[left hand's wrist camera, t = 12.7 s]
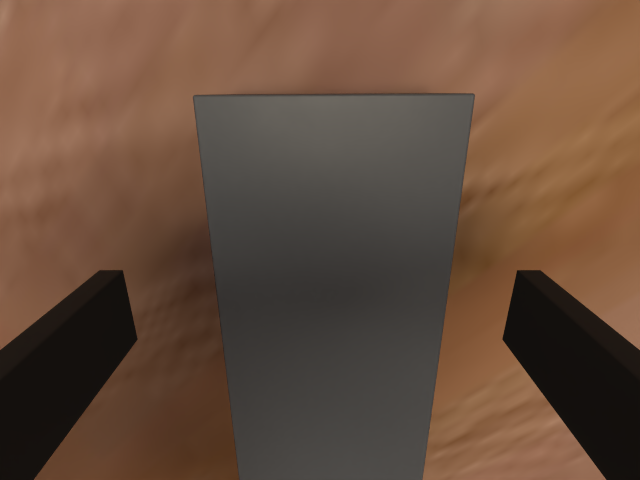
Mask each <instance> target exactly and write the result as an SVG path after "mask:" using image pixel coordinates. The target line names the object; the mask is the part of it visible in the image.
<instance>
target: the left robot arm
mask: <svg viewBox="0 0 640 480" xmlns="http://www.w3.org/2000/svg"><path fill="white" fill-rule="evenodd" d="M136 341H137V335H136V330H135V325H134V321H133V316H132V311H131V307H130V302H129V297H128V293H127V288H126V283H125V279H124V274H123V270H100V271H98V272H97V273H96V274H95V275H93V276H92V277H91V278H90V279H88V280H87V281H86V282H85V283H83V284H82V285H81V286H80V287H78V288H77V289H76V290H75V291H73V292H72V293H71V294H70V295H68V296H67V297H66V298H65V299H63V300H62V301H61V302H60V303H58V304H57V305H56V306H55V307H54V308H52V309H51V310H50V311H49V312H47V313H46V314H45V315H44V316H42V317H41V318H40V319H39V320H37V321H36V322H35V323H34V324H32V325H31V326H30V327H29V328H27V329H26V330H25V331H24V332H22V333H21V334H20V335H19V336H17V337H16V338H15V339H14V340H12V341H11V342H10V343H9V344H7V345H6V346H5V347H4V348H2V349H1V350H0V480H34V478H35V477H36V476H37V474H38V473H39V472H40V470H41V469H42V468H43V466H44V465H45V464H46V462H47V461H48V460H49V458H50V457H51V455H52V454H53V453H54V451H55V450H56V449H57V447H58V446H59V445H60V443H61V442H62V441H63V439H64V438H65V437H66V435H67V434H68V433H69V431H70V430H71V428H72V427H73V426H74V424H75V423H76V422H77V420H78V419H79V418H80V416H81V415H82V414H83V412H84V411H85V410H86V408H87V407H88V406H89V404H90V403H91V402H92V400H93V399H94V397H95V396H96V395H97V393H98V392H99V391H100V389H101V388H102V387H103V385H104V384H105V383H106V381H107V380H108V379H109V377H110V376H111V375H112V373H113V372H114V370H115V369H116V368H117V366H118V365H119V364H120V362H121V361H122V360H123V358H124V357H125V356H126V354H127V353H128V352H129V350H130V349H131V348H132V346H133V345H134V344H135V342H136ZM503 341H504V342H505V344H506V345H507V346H508V348H509V349H510V350H511V352H512V353H513V354H514V356H515V357H516V358H517V360H518V361H519V362H520V364H521V365H522V366H523V368H524V369H525V370H526V372H527V373H528V375H529V376H530V377H531V379H532V380H533V381H534V383H535V384H536V385H537V387H538V388H539V389H540V391H541V392H542V393H543V395H544V396H545V397H546V399H547V400H548V402H549V403H550V404H551V406H552V407H553V408H554V410H555V411H556V412H557V414H558V415H559V416H560V418H561V419H562V420H563V422H564V423H565V424H566V426H567V427H568V428H569V430H570V431H571V433H572V434H573V435H574V437H575V438H576V439H577V441H578V442H579V443H580V445H581V446H582V447H583V449H584V450H585V451H586V453H587V454H588V455H589V457H590V458H591V460H592V461H593V462H594V464H595V465H596V466H597V468H598V469H599V470H600V472H601V473H602V474H603V476H604V477H605V478H606V480H640V350H639V349H637V348H636V347H635V346H634V345H633V344H631V343H630V342H629V341H628V340H626V339H625V338H624V337H623V336H621V335H620V334H619V333H618V332H616V331H615V330H614V329H613V328H611V327H610V326H609V325H608V324H606V323H605V322H604V321H603V320H601V319H600V318H599V317H598V316H596V315H595V314H594V313H593V312H591V311H590V310H589V309H588V308H586V307H585V306H584V305H583V304H582V303H580V302H579V301H578V300H577V299H575V298H574V297H573V296H572V295H570V294H569V293H568V292H567V291H565V290H564V289H563V288H562V287H560V286H559V285H558V284H557V283H555V282H554V281H553V280H552V279H550V278H549V277H548V276H547V275H545V274H544V273H543V272H542V271H540V270H517V274H516V279H515V283H514V288H513V293H512V297H511V302H510V307H509V311H508V316H507V321H506V325H505V330H504V335H503Z"/></svg>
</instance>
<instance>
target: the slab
mask: <svg viewBox="0 0 640 480" xmlns="http://www.w3.org/2000/svg"><path fill="white" fill-rule="evenodd" d="M474 98H475V95H474V94H464V93H384V94H225V95H194V96H193V101H194V109H195V118H196V126H197V134H198V142H199V151H200V159H201V167H202V175H203V184H204V192H205V200H206V209H207V217H208V225H209V233H210V242H211V250H212V258H213V266H214V275H215V283H216V291H217V299H218V308H219V316H220V324H221V332H222V341H223V349H224V357H225V366H226V374H227V382H228V390H229V399H230V407H231V415H232V423H233V432H234V440H235V448H236V456H237V465H238V473H239V480H422V478H423V471H424V464H425V456H426V449H427V442H428V434H429V427H430V420H431V412H432V405H433V398H434V391H435V383H436V376H437V369H438V361H439V354H440V347H441V339H442V332H443V325H444V317H445V310H446V303H447V295H448V288H449V281H450V274H451V266H452V259H453V252H454V244H455V237H456V230H457V222H458V215H459V208H460V200H461V193H462V186H463V178H464V171H465V164H466V157H467V149H468V142H469V135H470V127H471V120H472V113H473V105H474Z"/></svg>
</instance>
